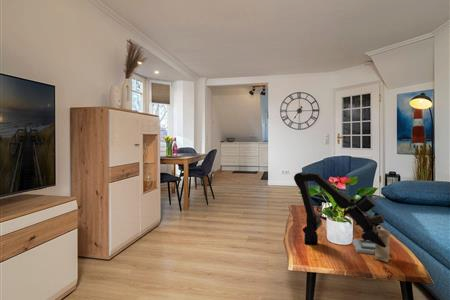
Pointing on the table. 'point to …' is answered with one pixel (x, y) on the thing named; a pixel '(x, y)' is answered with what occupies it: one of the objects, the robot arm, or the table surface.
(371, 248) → the baseplate
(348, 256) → the table surface
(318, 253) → the table surface
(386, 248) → the birch block
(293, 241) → the table surface
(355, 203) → the robot arm
